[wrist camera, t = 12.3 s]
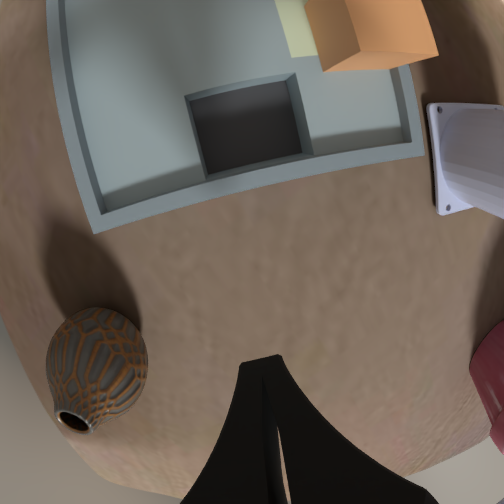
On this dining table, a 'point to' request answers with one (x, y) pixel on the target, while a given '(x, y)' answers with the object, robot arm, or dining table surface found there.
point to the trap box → (210, 102)
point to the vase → (95, 369)
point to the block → (369, 33)
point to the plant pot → (491, 380)
